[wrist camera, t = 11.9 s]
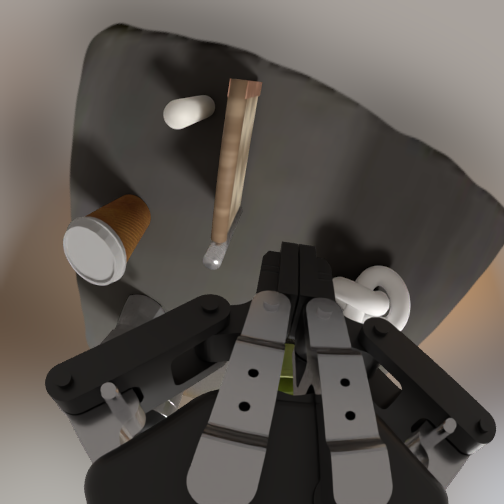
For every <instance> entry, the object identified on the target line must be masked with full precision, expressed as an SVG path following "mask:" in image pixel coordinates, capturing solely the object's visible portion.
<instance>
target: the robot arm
mask: <svg viewBox="0 0 504 504" xmlns="http://www.w3.org/2000/svg"><path fill="white" fill-rule="evenodd" d="M288 333H289V339H295V346H294V350H293V353H292V365H293V395H290V394H287V393H284V392H281V391H278V385H279V380H280V375H281V369H282V364H283V358H284V352H285V339H286V338H287V336H288ZM227 361H229V363H228V366H227V369H226V372H225V375H224V378H223V381H222V384H221V387H220V389H219V390H214V391H210V392H207V393H205V394H202V395H200V396H198V397H196V398H195V399H193V400H191V401H190V402H189V403H187V404H186V405H184V406H183V407H181V408H180V409H178V406H179V403H180V401H181V398H182V395H183V392H184V390H186V389H188V388H189V387H191V386H192V385H194V384H196V383H197V382H199V381H200V380H202V379H204V378H205V377H207V376H208V375H210V374H211V373H213V372H215V371H216V370H218V369H219V368H221V367H222V366H223V365H225V363H226V362H227ZM380 365H382V366H383V367H384V368H385V369H386V370H387V371H388V372H389V373H390V374H391V375H392V376H393V377H394V378H395V379H396V380H397V381H398V382H399V383H400V384H401V387H402V390H401V389H399V388H398V387H397V386H396V385H395V384H394V383H393V382H392V381H391V380H390V379H389V378H388V377H387V376H386V375H385V374H384V373H383V372H382V371H381V370H380V369H379V366H380ZM45 386H46V390H47V392H48V394H49V395H50V396H51V397H52V399H53V400H54V401H55V402H56V403H57V405H58V407H59V408H60V409H61V411H62V412H63V413H64V414H65V415H66V416H67V417H68V418H69V420H70V422H71V424H72V426H73V428H74V430H75V432H76V434H77V436H78V438H79V440H80V442H81V444H82V446H83V447H84V449H85V451H86V453H87V454H88V456H89V458H90V460H91V461H92V463H93V464H92V465H91V467H90V469H89V470H88V472H87V475H86V479H85V485H84V490H85V497H86V501H87V504H448V497H447V493H446V491H445V489H446V488H447V487H448V486H449V484H450V483H451V482H452V480H453V479H454V478H455V476H456V475H457V473H458V472H459V471H460V469H461V468H462V466H463V465H464V463H465V462H466V460H467V459H468V457H469V456H470V455H472V454H474V453H475V452H476V451H478V450H479V449H481V448H482V447H484V446H485V445H487V444H488V443H489V442H491V441H492V440H493V438H494V436H495V433H496V424H495V421H494V419H493V417H492V416H491V415H490V413H489V412H487V411H486V410H485V409H484V408H483V407H482V406H481V405H480V404H479V403H478V402H477V401H476V400H475V399H474V398H473V397H472V396H471V395H470V394H469V393H468V392H467V391H465V390H464V389H463V388H462V387H461V386H460V385H459V384H458V383H457V382H456V381H455V380H454V379H453V378H452V377H450V375H448V374H447V373H446V372H445V371H444V370H443V369H442V368H441V367H439V366H438V364H436V363H435V362H434V361H433V360H432V359H431V358H430V357H429V356H428V355H426V354H425V353H424V352H423V351H422V350H421V349H420V348H419V347H418V346H416V345H415V344H414V343H413V342H412V341H411V340H410V339H409V338H407V337H406V336H405V335H404V334H403V333H402V332H401V331H399V330H398V329H397V328H396V327H395V326H394V325H393V324H391V323H390V322H389V321H387V320H385V319H383V318H379V317H371V318H368V319H367V320H366V321H365V322H364V324H362V323H359V322H357V321H354V320H351V319H349V318H347V317H346V316H344V314H343V311H342V308H341V307H340V306H339V305H338V304H337V303H336V299H335V292H334V285H333V279H332V272H331V266H330V265H329V263H328V262H327V261H326V260H325V259H322V258H316V249H315V246H309V245H303V244H299V246H298V244H295V243H289V242H282V244H281V250H280V252H274V251H268V252H267V253H266V254H265V255H264V256H263V260H262V265H261V271H260V276H259V281H258V287H257V292H256V295H255V296H254V297H253V299H252V300H251V301H249V302H247V303H245V304H240V305H230V304H229V303H228V301H227V300H226V299H224V298H223V297H221V296H218V295H212V294H207V295H202V296H199V297H197V298H195V299H193V300H191V301H189V302H187V303H185V304H183V305H181V306H179V307H177V308H175V309H173V310H171V311H169V312H167V313H165V314H163V315H160V316H158V317H156V318H154V319H152V320H150V321H148V322H146V323H144V324H142V325H140V326H138V327H136V328H134V329H132V330H130V331H128V332H125V333H123V334H121V335H119V336H117V337H115V338H113V339H111V340H109V341H107V342H105V343H102V344H100V345H98V346H96V347H94V348H92V349H90V350H88V351H86V352H83V353H81V354H79V355H77V356H75V357H73V358H71V359H69V360H66V361H64V362H62V363H60V364H58V365H56V366H54V367H53V368H52V369H51V370H50V371H49V373H48V374H47V377H46V380H45ZM177 409H178V410H177Z"/></svg>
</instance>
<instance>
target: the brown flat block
mask: <svg viewBox="0 0 504 504" xmlns="http://www.w3.org/2000/svg"><path fill="white" fill-rule="evenodd" d="M261 87H262V82H257V81H250V80H240V79H230V82H229V89H228V95H227V96H228V101H227V108H226V115H225V122H224V129H223V136H222V144H221V152H220V160H219V168H218V176H217V185H216V194H215V203H214V213H213V222H212V233H211V240H212V241H214V242H217V243H223V242H225V241H226V240H227V233H228V231H229V229H230V226H231V224H232V222H233V220H234V218H235V215H236V213H237V211H238V209H239V207H240V204H241V197H242V191H243V184H244V178H245V172H246V165H247V159H248V153H249V147H250V141H251V135H252V129H253V123H254V117H255V111H256V105H257V99H258V96H260V92H261Z"/></svg>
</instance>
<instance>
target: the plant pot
mask: <svg viewBox="0 0 504 504" xmlns="http://www.w3.org/2000/svg"><path fill="white" fill-rule="evenodd" d="M294 346H295V345H294V344H285V352H284V358H283V364H282V369H281V375H280V380H279V385H278V391H281V392H284V393H287V394H290V395H293V365H292V353H293V350H294Z"/></svg>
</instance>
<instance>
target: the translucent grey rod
mask: <svg viewBox="0 0 504 504" xmlns="http://www.w3.org/2000/svg"><path fill="white" fill-rule="evenodd" d="M241 214H242V208H241V207H239V209H238V211H237V213H236V215H235V218H234V220H233V222H232V224H231V226H230V229H229V231H228V233H227V240H226V241H225V242H223V243H217V242H214V241H212V242H211V244H210V246H209V248H208V250H207V252H206V254H205V256H204V258H203V263H204V265H205V266H206V267H207V268H209V269H212V270H214V269H218V268H219V267H220V265H221V262H222V260H223V257H224V255H225V253H226V250H227V248H228V245H229V243H230V240H231V238H232V236H233V233H234V231H235V228H236V226H237V224H238V221H239V219H240V216H241Z"/></svg>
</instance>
